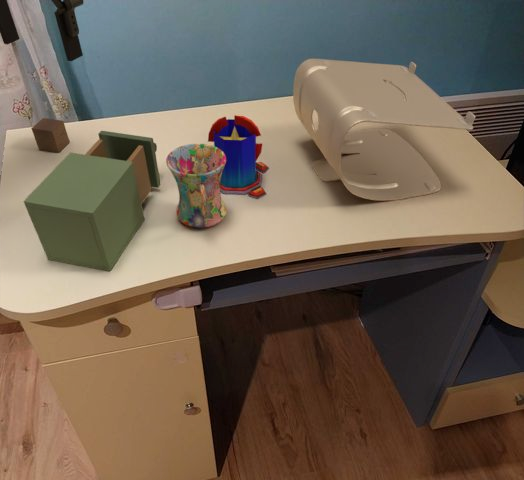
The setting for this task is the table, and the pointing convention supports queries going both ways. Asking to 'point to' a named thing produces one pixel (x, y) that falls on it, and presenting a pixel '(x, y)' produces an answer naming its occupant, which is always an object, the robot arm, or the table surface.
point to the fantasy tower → (239, 156)
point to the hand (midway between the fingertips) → (42, 49)
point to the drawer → (131, 157)
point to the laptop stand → (376, 111)
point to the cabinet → (87, 210)
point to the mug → (198, 183)
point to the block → (50, 135)
